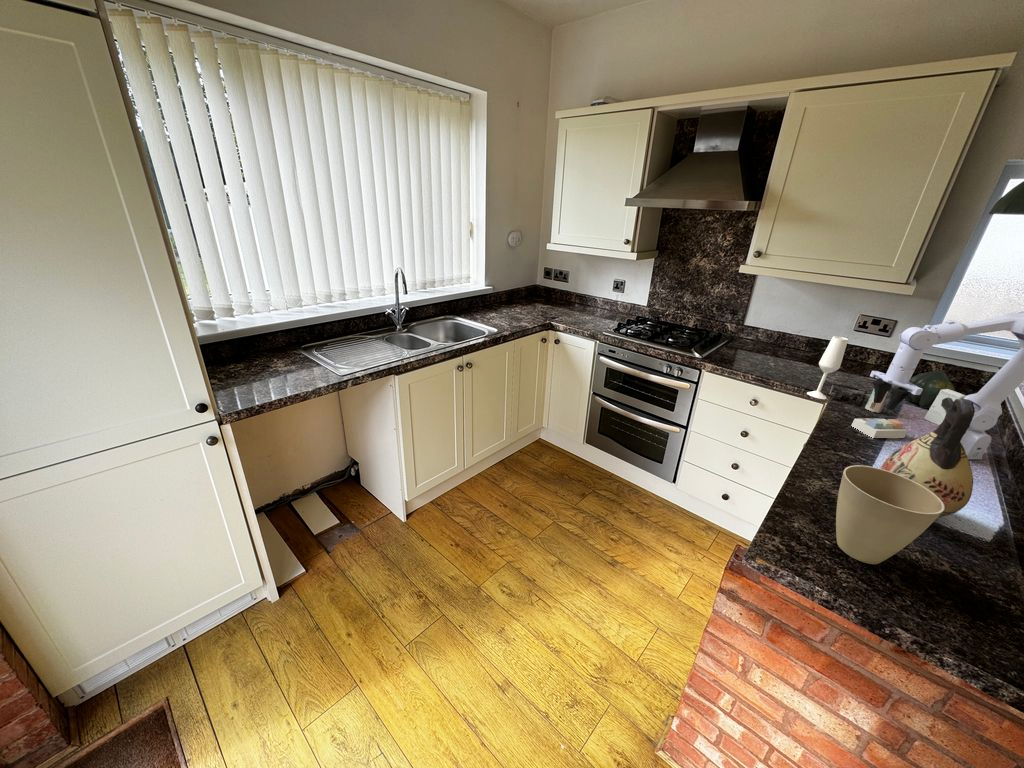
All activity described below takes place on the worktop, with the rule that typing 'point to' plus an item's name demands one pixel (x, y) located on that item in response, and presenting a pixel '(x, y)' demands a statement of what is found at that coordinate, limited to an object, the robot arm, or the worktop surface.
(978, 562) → the worktop surface
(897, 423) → the terracotta key
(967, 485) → the ceramic jug
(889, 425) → the sage key
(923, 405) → the squash
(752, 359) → the worktop surface
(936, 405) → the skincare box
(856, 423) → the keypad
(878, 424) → the slate blue key
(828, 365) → the champagne flute
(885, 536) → the plant pot
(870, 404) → the beige capped bottle
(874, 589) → the worktop surface
